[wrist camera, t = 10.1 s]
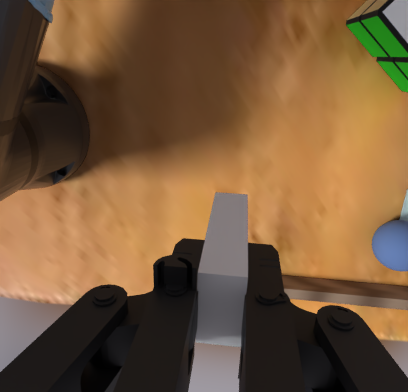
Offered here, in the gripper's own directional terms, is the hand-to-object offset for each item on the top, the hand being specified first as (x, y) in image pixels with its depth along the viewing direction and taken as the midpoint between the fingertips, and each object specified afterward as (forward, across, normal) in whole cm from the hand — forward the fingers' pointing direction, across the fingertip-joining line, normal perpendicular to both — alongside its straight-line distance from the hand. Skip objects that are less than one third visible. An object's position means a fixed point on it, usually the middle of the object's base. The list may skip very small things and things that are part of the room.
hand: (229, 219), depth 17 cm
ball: (+23, +20, -13) cm, 33 cm away
